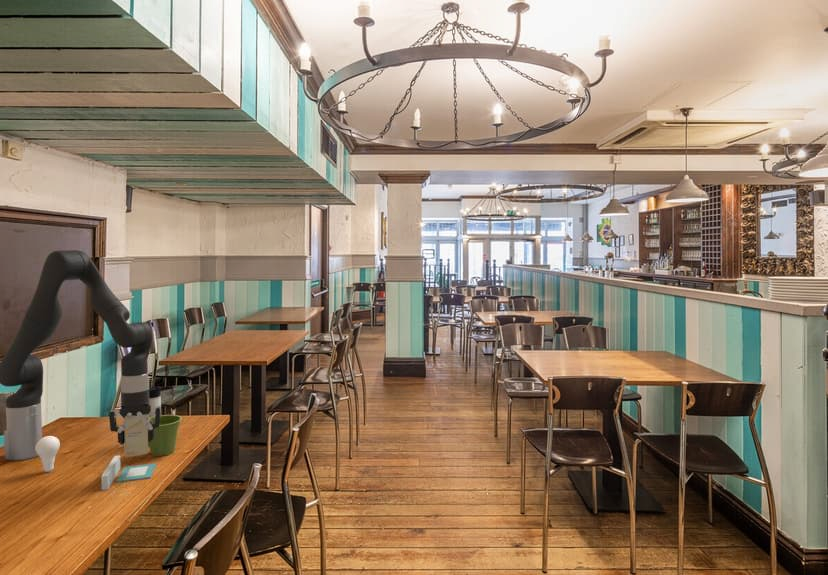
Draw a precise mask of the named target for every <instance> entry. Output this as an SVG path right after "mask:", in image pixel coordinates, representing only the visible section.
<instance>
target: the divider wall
mask: <svg viewBox="0 0 828 575" xmlns="http://www.w3.org/2000/svg"><path fill="white" fill-rule="evenodd" d="M120 469H121V455H114V456H113V458H112V459H111V461H110V462H109V463H108V465H107V467H106V468H105V469H104V472H103V473H102V475H101V476H100V478H101V491H107V490H109V488H110V487H111V484H113V482H114V480H115V478H116V476H117V475H118V473H119V472H120Z"/></svg>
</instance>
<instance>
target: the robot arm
mask: <svg viewBox="0 0 828 575" xmlns="http://www.w3.org/2000/svg"><path fill="white" fill-rule="evenodd" d="M39 276H40V277H39V280H38V284H37V287H36V289H35V292H34V295H33V297H32V300H31V302H30V304H29V306H28V308H27V310H26V312H25V314H24V316H23V319H22V321H21V324H20V327H19V328H18V331H17V332H16V335H15V337H14V339H13V340H12V343H11V344H10V346H9V348H8V350H7V351H6V353H5V354H4V356H3V358H1V361H0V385H2V386H4V387H17V386H20V388H18V390H17V391H16V392H13V393H12V394H11V395H10V396H9V395H8V396H7V397H6V398H5V415H6V418H5V419H6V430H4V431H3V438H4V440H3V441H4V461H23V460H29V459H32V458H36V457H38V456H39V455H38V454H37V452H36V450H35V447H36V444H37V442H38V441H39V440H40V439H41V438H43V424H42V422H43V421H42V395H43V391H44V390H43V389H44V387H43V386H44V366H43V362H42V359H40V357H39V356H38V355H35V354H32V353H33V352H34V351H35V350H37V349H38V348H39V347H41V346H42V345H43V344H44V343H45V342H46V341H47V340H49V339H50V338H51V337H52V335H54V333H55V332H56V330H57V328H58V326H59V323H60V322H61V320H62V317H63V309H62V306H61V303H60V301H59V297H58V296H59V292H60V289H61V287H62V285H63V284H64V282H65V281H73V280H74V281H75V280H77V281H78V280H79V281H81V282H82V283H84V285H85V286H87V288H88V290H89V294H90V295H89V297H90V305H91V307H92V308H93V310H94V312H95V313H96V314H97V315H98V317H99V318H101V320H102V321H103V322H104V323H105V324H106V326H107V328H108V331H109V333H110V335H111V338H112V340H113V342H114V343H116V345H118V346H120V347H122V348H124V349H127V348H129V349H130V348H131V349H130V351H129V353H127V354H125V355H124V356H122V358H120V359H121V360H120V369H121V370H120V371H121V372H120V374H121V376H120V409H111V410H110V411H109V413H108V417H109V419H108V420H109V429H110V432H116V433H117V442H118V444H120V446H121V445H122V446H124V427H125V416H132V415H138V417H142V418H143V419H142V422H143V423H144V424H145V425H146V424H148V442H151V440H153V438H154V428H156V427H159V425H160V423H161V415H162V406H161V407H160V406H158V407H151V406H150V404H149V388H150V380H149V372H148V370H149V369H148V368H149V367H148V358H149V355H150V351H151V348H152V344H153V338H154V337H153V336H154V334H153V330H152V327H151V326H150V325H149V323H147V322H144V321H137V322H131V323H128V320H129V319H130V317H131V313H130V311H129V310H128V308H127V307H126V306H125V305H124V304H123V303H122V301H121V300H120V299H119V298H118V297H117V296H116V295H115V294H114V293H113V291H112V290H111V288H110V287H109V286H108V284H107V282H106V281H105V279H104V278H103V276H102V274H101V273H100V271H99V269H98V268H97V266H96V265H95V263H94V261H93V260H92V258H91V257H90V256H89V255H88V254H87V253H86V252H85V251H82V250H77V249H76V250H73V249H71V250H69V249H68V250H67V249H66V250H63V249H62V250H61V249H60V250H54V251H52V252H50V253H49V254H48V255H47V257H46V258H45V260H44V263H43V267H42V270H41V273H40V275H39ZM150 411H152V412H153V414H154V415H155V423H152V421H151V420H150V418H149V416H148V420H147V419H146V418H145V417H144V415H146V414H149V413H150ZM119 415H120V416H121V417H122V418H123V421H122V422H121V424H120V425H119V426H118V424H117V418H118V417H119ZM144 420H145V421H144Z"/></svg>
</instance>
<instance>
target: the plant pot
mask: <svg viewBox="0 0 828 575" xmlns="http://www.w3.org/2000/svg"><path fill="white" fill-rule="evenodd" d="M182 418H183V417H182V416H180V415H177V414H163V415H162V414H161V423H160V425H159V427H156V428H154V438H153V440H151V442H149V445H148V448H149V451H150V455H151V456H153V457H154V456H155V457H162V456H165V455H171V454H173V453H174V452H175V450H176V444H177V439H178V438H177V437H178V430H179V427H180V424H181V423H180V422H181V420H182ZM150 420H151V421H152V423H155V417H151V418H150Z"/></svg>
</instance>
